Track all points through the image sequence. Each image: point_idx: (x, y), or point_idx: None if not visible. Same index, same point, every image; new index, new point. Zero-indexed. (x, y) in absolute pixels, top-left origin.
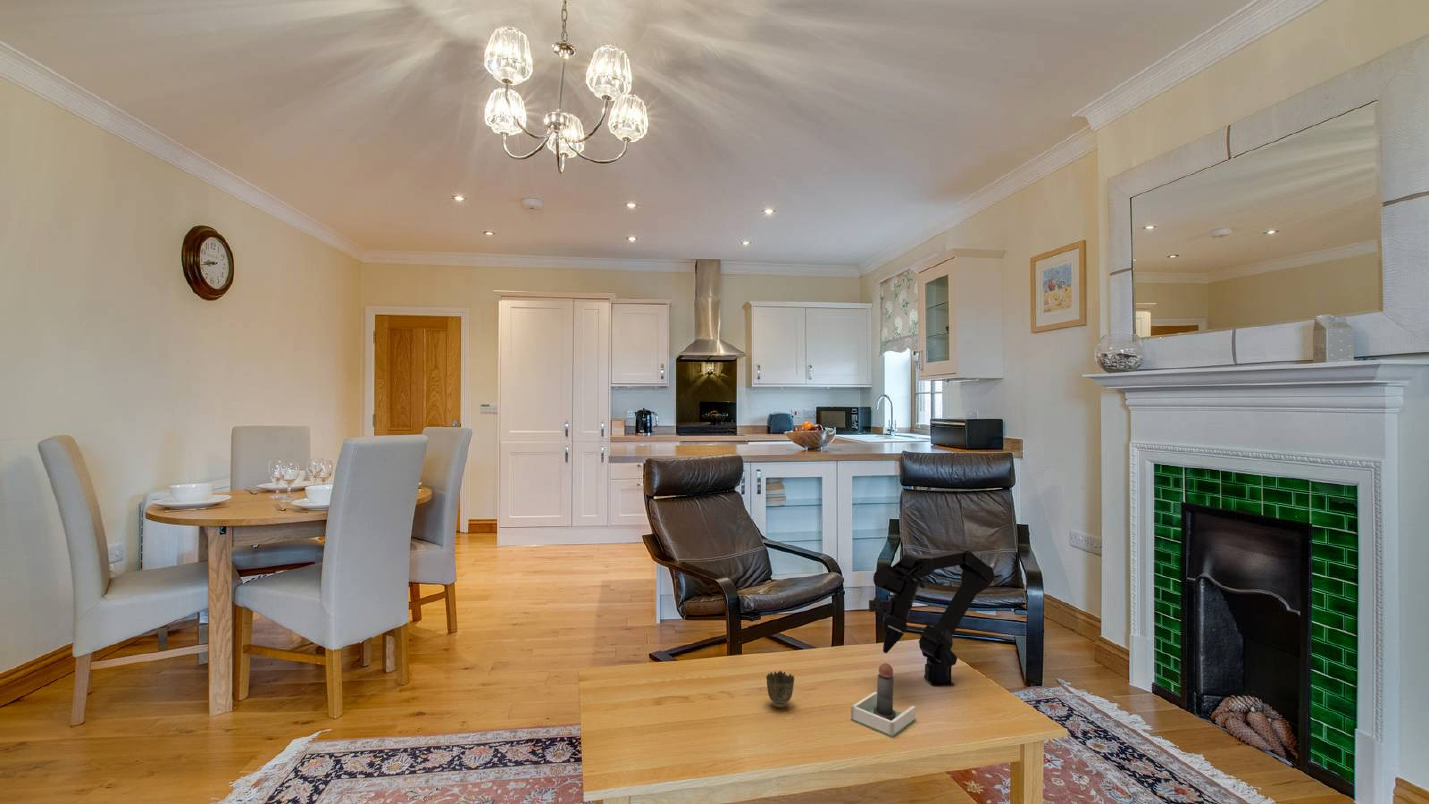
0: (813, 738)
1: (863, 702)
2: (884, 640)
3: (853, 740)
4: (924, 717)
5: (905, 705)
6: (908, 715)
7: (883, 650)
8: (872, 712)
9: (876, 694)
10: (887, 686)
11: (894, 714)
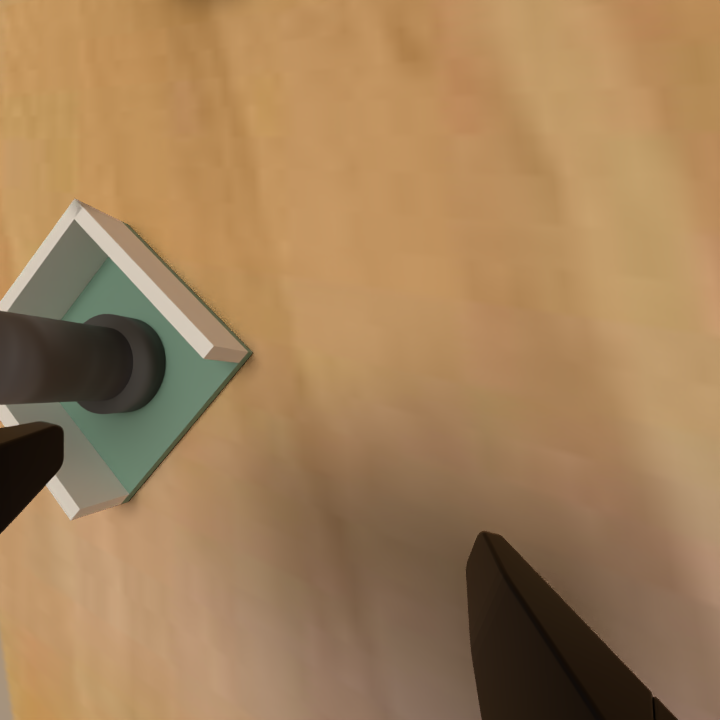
0: (27, 88)
1: (117, 264)
2: (522, 613)
3: (14, 221)
4: (151, 556)
5: (252, 507)
6: None
7: (25, 427)
8: (162, 320)
9: (197, 349)
10: None
11: (81, 403)
